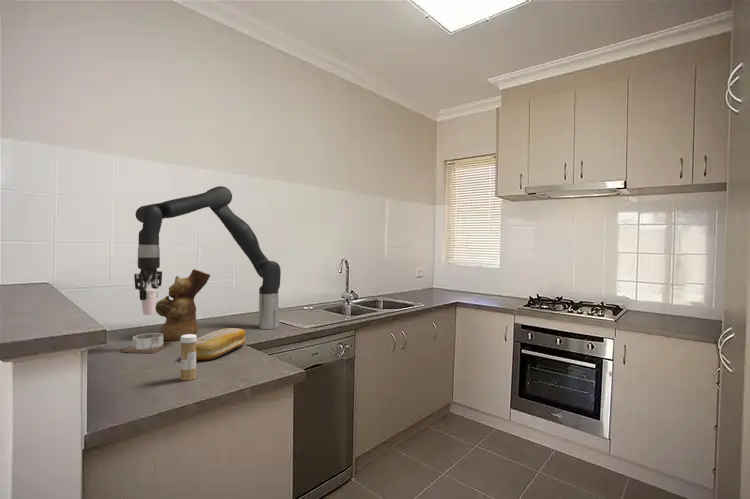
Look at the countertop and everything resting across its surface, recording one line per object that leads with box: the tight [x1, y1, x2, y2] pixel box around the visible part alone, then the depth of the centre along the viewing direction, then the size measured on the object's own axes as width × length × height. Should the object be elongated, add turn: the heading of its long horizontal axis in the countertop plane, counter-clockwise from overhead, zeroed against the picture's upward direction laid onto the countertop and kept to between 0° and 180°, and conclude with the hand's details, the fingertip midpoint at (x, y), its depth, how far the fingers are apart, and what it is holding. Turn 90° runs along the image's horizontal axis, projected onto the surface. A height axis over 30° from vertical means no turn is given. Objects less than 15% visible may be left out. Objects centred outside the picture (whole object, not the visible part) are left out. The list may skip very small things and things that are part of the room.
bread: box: [196, 327, 246, 362], centre depth 150 cm, size 13×26×8 cm, turn 170°
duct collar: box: [122, 332, 173, 354], centre depth 153 cm, size 12×12×5 cm
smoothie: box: [138, 282, 159, 316], centre depth 152 cm, size 6×6×14 cm
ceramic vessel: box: [155, 268, 211, 343], centre depth 172 cm, size 16×22×30 cm
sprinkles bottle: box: [179, 334, 198, 381], centre depth 120 cm, size 5×5×14 cm
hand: (148, 298), depth 152 cm, fingers closed on smoothie, 6 cm apart
